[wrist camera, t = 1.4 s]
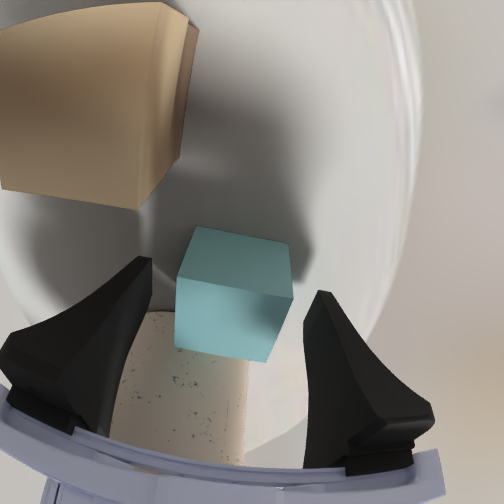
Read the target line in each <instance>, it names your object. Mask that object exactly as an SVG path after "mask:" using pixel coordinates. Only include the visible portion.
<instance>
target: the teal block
mask: <svg viewBox="0 0 504 504" xmlns="http://www.w3.org/2000/svg"><path fill="white" fill-rule="evenodd" d="M293 299H294V298H293V287H292V276H291V266H290V255H289V246H288V244H286V243H281V242H276V241H271V240H266V239H261V238H256V237H251V236H246V235H241V234H236V233H231V232H225V231H220V230H215V229H210V228H205V227H199V226H196V228H195V231H194V233H193V236H192V238H191V241H190V243H189V246H188V249H187V251H186V254H185V256H184V259H183V262H182V264H181V267H180V270H179V272H178V275H177V284H176V305H175V335H174V347H179V348H184V349H188V350H193V351H198V352H204V353H209V354H214V355H220V356H225V357H231V358H237V359H244V360H250V361H257V362H264V363H266V362H267V359H268V357H269V355H270V353H271V350H272V348H273V346H274V344H275V341H276V339H277V337H278V334H279V332H280V330H281V327H282V325H283V323H284V320H285V318H286V315H287V313H288V311H289V308H290V306H291V303H292V301H293Z"/></svg>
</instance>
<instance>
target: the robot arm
mask: <svg viewBox="0 0 504 504" xmlns="http://www.w3.org/2000/svg"><path fill="white" fill-rule="evenodd" d="M151 296H152V258H148V257H143V256H137V257H136V258H135V259H134V260H132V261H131V262H130V263H129V264H128V265H127V266H125V267H124V268H123V269H122V270H121V271H120V272H118V273H117V274H116V275H115V276H114V277H112V278H111V279H110V280H109V281H108V282H106V283H105V284H104V285H102V286H101V287H100V288H98V289H97V290H96V291H95V292H93V293H92V294H91V295H89V296H88V297H86V298H85V299H83V300H82V301H80V302H79V303H77V304H76V305H74V306H72V307H71V308H69V309H67V310H65V311H63V312H61V313H59V314H57V315H56V316H54V317H52V318H49V319H47V320H45V321H43V322H40V323H38V324H35V325H33V326H30V327H27V328H24V329H21V330H18V331H15V332H12V333H10V335H9V336H8V338H7V339H6V341H5V343H4V345H3V346H2V348H1V350H0V369H1V371H2V372H3V373H4V375H5V376H6V377H7V379H8V380H9V381H10V383H11V384H12V387H11V390H10V391H9V390H8V389H7V388H6V387H5V386H3V385H1V384H0V450H2V451H4V452H5V453H7V454H8V455H10V456H12V457H13V458H15V459H16V460H18V461H20V462H22V463H23V464H25V465H27V466H29V467H30V468H32V469H34V470H36V471H38V472H40V473H42V474H44V475H46V476H47V477H48V478H47V481H46V484H45V488H44V491H43V495H42V499H41V504H424V503H426V502H430V501H432V500H435V499H438V498H440V497H443V496H445V495H446V490H445V485H444V479H443V474H442V468H441V463H440V458H439V454H438V450H437V449H431V450H427V451H422V452H418V453H415V454H413V455H412V450H411V449H413V448H414V447H415V443H414V440H415V439H416V438H418V437H419V436H421V435H422V434H424V433H425V432H426V431H428V430H429V429H430V428H431V427H432V426H433V425H434V423H435V418H434V415H433V411H432V407H431V404H430V403H429V402H428V401H426V400H425V399H424V398H422V397H420V396H419V395H418V394H416V393H415V392H413V391H412V390H411V389H410V388H409V387H407V386H406V385H405V384H404V383H402V382H401V381H400V380H399V379H398V378H397V377H396V376H395V375H394V374H392V373H391V371H390V370H389V369H388V368H387V367H386V366H385V365H384V364H383V363H382V362H381V361H380V360H379V359H378V358H377V357H376V355H375V354H374V353H373V352H372V351H371V350H370V349H369V347H368V346H367V344H366V343H365V342H364V340H363V339H362V338H361V336H360V335H359V334H358V332H357V331H356V329H355V328H354V326H353V325H352V323H351V322H350V320H349V319H348V317H347V316H346V314H345V313H344V311H343V310H342V308H341V307H340V305H339V303H338V302H337V300H336V299H335V297H334V296H333V294H332V293H331V292H328V291H322V290H318V291H317V294H316V296H315V298H314V300H313V302H312V304H311V307H310V309H309V311H308V313H307V315H306V317H305V319H304V321H303V344H304V353H305V362H306V370H307V379H308V392H309V398H308V428H307V439H306V450H305V456H304V463H303V469H278V468H259V467H246V466H236V465H227V464H219V463H212V462H205V461H199V460H193V459H188V458H182V457H177V456H172V455H168V454H163V453H159V452H155V451H151V450H147V449H143V448H139V447H136V446H132V445H129V444H125V443H122V442H119V441H115V440H112V439H109V435H110V428H111V422H112V416H113V411H114V406H115V401H116V396H117V392H118V388H119V384H120V380H121V376H122V373H123V369H124V365H125V362H126V359H127V356H128V354H129V351H130V349H131V346H132V344H133V342H134V340H135V337H136V335H137V333H138V330H139V328H140V326H141V324H142V321H143V319H144V317H145V315H146V312H147V309H148V306H149V302H150V299H151ZM129 464H130V465H129ZM132 465H133V466H132ZM134 466H137V467H140V468H144V469H148V470H152V471H156V472H161V473H165V474H170V475H161V476H160V475H155V474H149V473H144V472H139V471H135V468H134ZM172 475H174V476H172ZM178 476H179V477H178ZM274 487H284V488H283V489H279V488H274Z"/></svg>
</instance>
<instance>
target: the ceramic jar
mask: <svg viewBox="0 0 504 504" xmlns="http://www.w3.org/2000/svg"><path fill="white" fill-rule="evenodd" d="M174 335H175V312H163V311H159V312H148V313H146V315H145V317H144V319H143V321H142V324H141V326H140V328H139V330H138V333H137V335H136V337H135V340H134V342H133V344H132V346H131V349H130V351H129V354H128V356H127V359H126V362H125V365H124V369H123V373H122V376H121V380H120V384H119V388H118V392H117V396H116V401H115V406H114V411H113V416H112V422H111V428H110V435H109V439H112V440H115V441H119V442H122V443H125V444H129V445H132V446H136V447H139V448H143V449H147V450H151V451H155V452H159V453H163V454H168V455H172V456H177V457H182V458H188V459H193V460H199V461H205V462H212V463H219V464H227V465H236V466H243V456H244V440H245V424H246V408H247V391H248V374H249V361H248V360H244V359H237V358H231V357H225V356H220V355H214V354H209V353H204V352H198V351H193V350H188V349H184V348H179V347H174ZM129 465H130V464H129ZM132 466H133V465H132ZM134 468H135V471H139V472H144V473H149V474H155V475H160V476H161V475H170V474H165V473H161V472H156V471H152V470H148V469H144V468H140V467H137V466H134ZM172 476H174V475H172ZM178 477H179V476H178Z"/></svg>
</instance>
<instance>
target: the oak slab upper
mask: <svg viewBox="0 0 504 504" xmlns="http://www.w3.org/2000/svg"><path fill="white" fill-rule="evenodd" d="M188 22H189V18H188V17H186V16H184V15H183V14H181V13H179V12H178V11H176V10H174V9H173V8H171V7H169V6H168V5H166V4H164V3H162V2H142V3H125V4H114V5H105V6H97V7H90V8H84V9H78V10H72V11H67V12H62V13H57V14H53V15H49V16H45V17H41V18H37V19H33V20H30V21H26V22H23V23H20V24H16V25H13V26H10V27H7V28H5V29H2V30H0V180H1V186H2V189H3V190H10V191H17V192H24V193H31V194H38V195H45V196H51V197H58V198H65V199H71V200H77V201H84V202H90V203H96V204H102V205H109V206H115V207H121V208H127V209H133V210H138V209H139V208H140V207H141V205H142V204H143V203H144V202H145V200H146V199H147V198H148V196H149V195H150V194H151V192H152V191H153V190H154V189H155V187H156V186H157V185H158V184H159V182H160V181H161V180H162V179H163V177H164V176H165V175H166V168H167V157H168V147H169V138H170V129H171V121H172V113H173V106H174V99H175V92H176V86H177V80H178V74H179V68H180V62H181V56H182V51H183V46H184V41H185V36H186V31H187V26H188Z"/></svg>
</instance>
